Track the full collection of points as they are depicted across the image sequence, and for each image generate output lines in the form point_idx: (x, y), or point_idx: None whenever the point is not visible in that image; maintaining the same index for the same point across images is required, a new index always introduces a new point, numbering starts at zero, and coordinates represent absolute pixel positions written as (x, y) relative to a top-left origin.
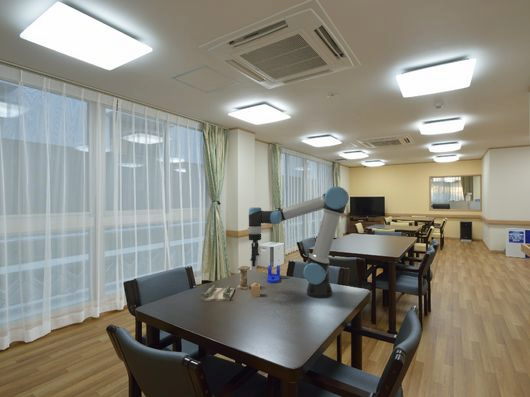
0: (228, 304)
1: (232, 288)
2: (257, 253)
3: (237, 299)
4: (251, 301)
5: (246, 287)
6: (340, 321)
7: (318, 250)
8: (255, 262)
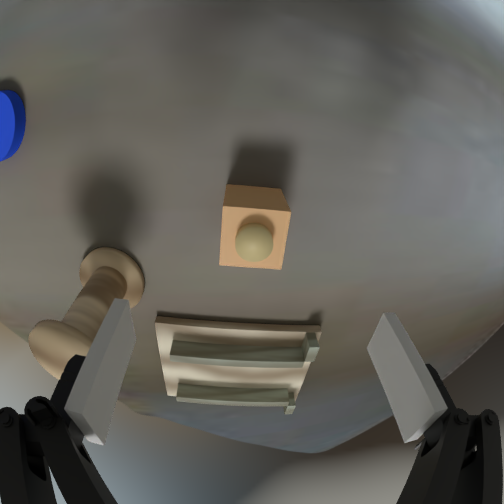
0: (360, 321)
1: (164, 331)
2: (81, 459)
3: (307, 297)
4: (351, 234)
5: (132, 269)
6: None
7: None
8: (433, 395)
